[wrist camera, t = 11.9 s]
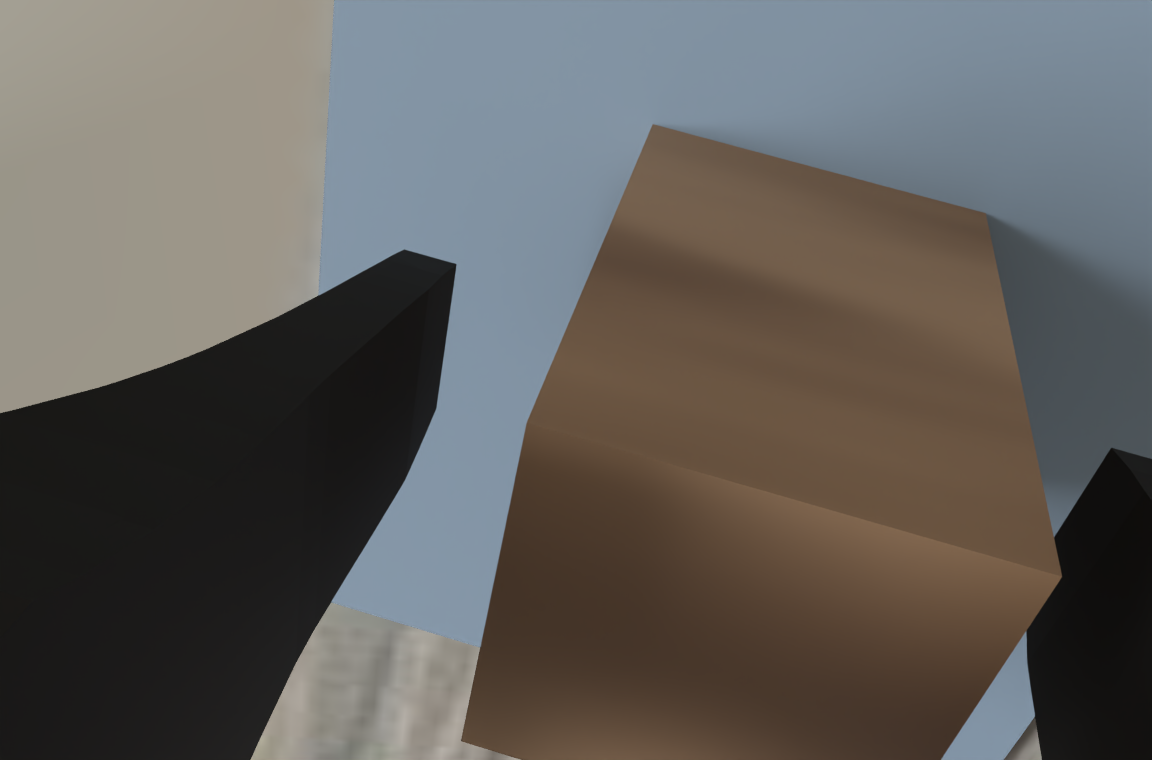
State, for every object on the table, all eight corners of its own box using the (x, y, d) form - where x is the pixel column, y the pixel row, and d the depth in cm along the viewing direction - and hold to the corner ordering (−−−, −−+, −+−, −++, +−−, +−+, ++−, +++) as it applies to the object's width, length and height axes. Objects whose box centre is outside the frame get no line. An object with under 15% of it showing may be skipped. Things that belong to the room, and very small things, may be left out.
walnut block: (867, 467, 15) (869, 867, 10) (588, 388, 15) (460, 740, 10) (986, 213, 13) (1061, 575, 8) (652, 124, 13) (525, 422, 8)
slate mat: (973, 768, 19) (976, 797, 18) (316, 569, 20) (302, 593, 19) (1724, -307, 9) (1771, -302, 9) (391, -610, 10) (367, -621, 10)
